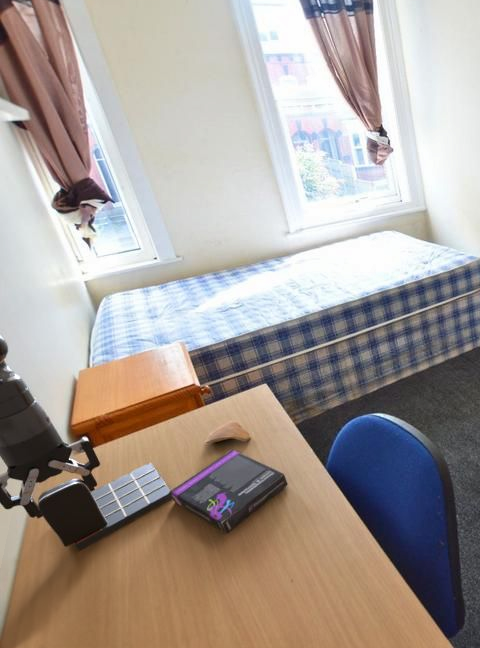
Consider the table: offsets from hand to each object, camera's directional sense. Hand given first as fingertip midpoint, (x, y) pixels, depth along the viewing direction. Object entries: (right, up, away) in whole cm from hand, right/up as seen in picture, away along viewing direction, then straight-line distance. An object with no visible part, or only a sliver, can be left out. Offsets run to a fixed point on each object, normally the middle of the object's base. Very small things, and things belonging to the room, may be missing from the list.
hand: (66, 502), depth 87 cm
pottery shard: (+13, +4, +30) cm, 33 cm away
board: (0, -5, +12) cm, 13 cm away
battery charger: (+1, -7, +3) cm, 8 cm away
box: (+24, -3, +11) cm, 27 cm away
